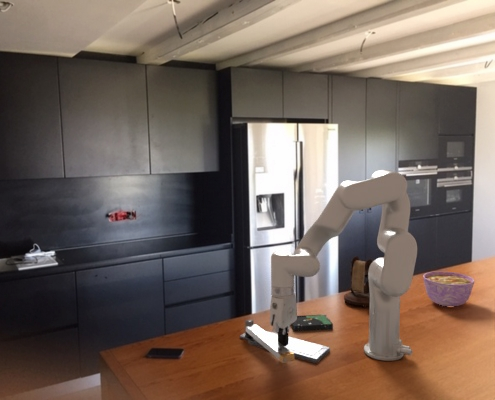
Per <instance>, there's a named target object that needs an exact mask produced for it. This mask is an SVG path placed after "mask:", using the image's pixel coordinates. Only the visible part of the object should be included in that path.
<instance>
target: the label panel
mask: <svg viewBox="0 0 495 400" xmlns="http://www.w3.org/2000/svg"><path fill="white" fill-rule="evenodd" d="M263 330H264V329H263ZM264 331H265V332H267V333H268V334H269V335H271V336H272V337H273V338H274V339H276V340H277V341H278V333H277V332H273V331H267V330H264ZM239 338H240V339H241V340H242V339H243V340H245V341H247V343H248V345H251V346H254V347H258V348H261V349H264V350H267V349H266V348H265V347H263V346H262V345H261V344H260V343H259V342H258V341H256V340H255V339H254V338H253V337H252V336H248V335H245V332H244V333H242V334H240V335H239ZM285 347H286V348H287V349H288V350H290V351H291V352H293V353H294V359H295V358H296V359H299V360H303V361H307V362H310V363H313V364H317V363H319V362H320V361H321V360H322V359H324V357H326V356H327V355H328V354H329V353H330V352H331V347H329V346H326V345H322V344H319V343H314V342H310V341H307V340H303V339H299V338H296V337H291V336H288V345H287V346H285Z"/></svg>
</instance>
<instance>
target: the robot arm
mask: <svg viewBox="0 0 495 400" xmlns="http://www.w3.org/2000/svg"><path fill="white" fill-rule="evenodd" d="M407 190H408V181H407V179H406V177H405V176H404V175H403V174H401V173H400V172H397V171H392V170H387V169H380V170H376V171H375V172H373V173H372V175H371V176H370V178H369V179H366V180H365V179H364V180H361V181H360V180H359V181H356V180H345V181H342V182H341V183H340V184H339V185H338V186H337V188H336V189H335V191H334V192H333V195H332V196H331V197H330V199H329V201H328V202H327V204H325V207H324V209H323V210H322V211H321V214H320V215H319V216H318V218H317V219H316V220H315V221H314V222H313V224H312V225H311V226H310V228H309V229H308V230H307V231H306V232H305V234H304V235H303V236H302V238H301V240H300V241H299V243H298V245H297V246H296V248H295V249H294V251H293V252H290V251H285V250H279V251H275V252H273V253H272V254H271V257H270V296H271V297H270V298H271V299H270V307H269V308H270V309H269V323H270V326H271V327H272V332H273V333H276V334H278V342H279V343H281V344H282V345H283V346H287V345H288V337H289V333H290V327H291V325H290V324H292V323H294V322H295V321H296V320H297V316H298V306H297V305H298V304H297V296H296V291H295V286H296V285H295V276H297V277H303V278H311V277H314V276H316V275H317V274H318V273H319V272H320V268H321V263H320V260H319V258H318V255H319V254H320V252H321V251H322V248H323V247H324V246H325V245H326V244H327V243H328V242H329V240H331V239H333V238H335V237H337V236H339V235H340V234H342V233H343V231H344V229H345V228H346V226H347V224H348V223H349V221H350V220H351V218H352V217H353V215H354V214H355V212H357V211H363V210H367V209H368V210H369V209H371V208H375V207H378V206H381V209H382V210H381V217H380V223H379V229H378V234H377V239H376V242H377V243H376V245H377V247H378V249H379V250H380V251H381V252H382V253H383V254H384V256H383V257H381V256H380V257H378V258H376V259H374V260H372V263H371V265H370V267H369V272H368V278H367V279H368V280H369V289H370V305H369V310H368V311H369V312H368V313H369V321H368V322H369V324H368V342H367V343H366V344H365V345H364V346H363V352H364V353H365V355H367V356H368V357H370V358H371V359H375V360H379V361H386V362H391V361H398V360H401V359H402V358H403V357H404V355H406V356H412V355H413V350H412V349H411V346H409V345H404V344H403V340H402V339H400V321H401V320H400V319H401V317H400V315H401V297H402V296H404V295H405V294H406V293H407V292H408V291H409V289H410V287H411V285H412V282H413V276H414V271H415V266H416V261H417V256H418V245H417V241H416V239H415V237H414V236H413V235H412V234H411V232H409V225H410V217H411V201H410V198H409V195H408V193H407Z"/></svg>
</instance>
